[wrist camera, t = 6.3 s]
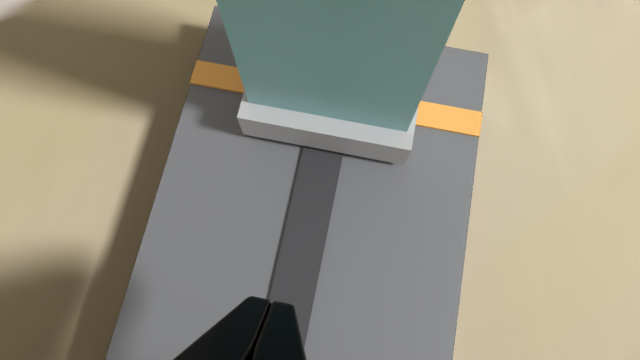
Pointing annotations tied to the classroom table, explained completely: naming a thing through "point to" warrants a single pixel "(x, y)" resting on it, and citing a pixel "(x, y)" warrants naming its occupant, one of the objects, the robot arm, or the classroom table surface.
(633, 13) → the classroom table surface
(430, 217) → the fader board
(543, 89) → the classroom table surface
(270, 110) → the fader lever
